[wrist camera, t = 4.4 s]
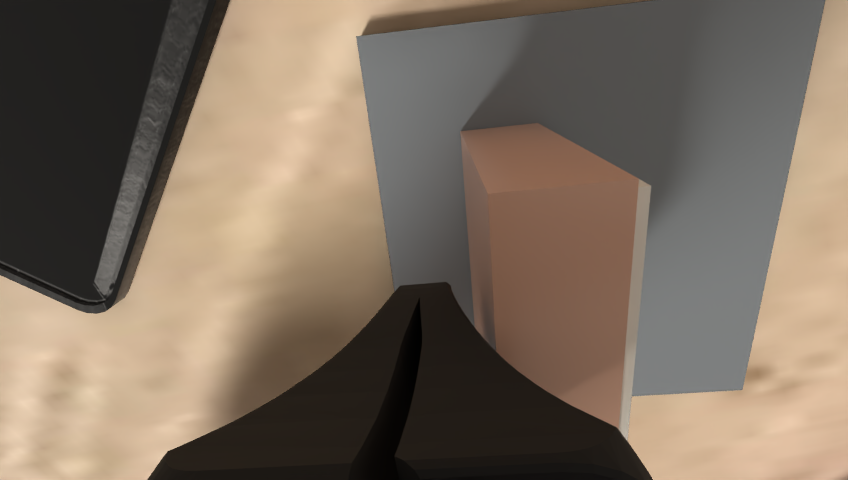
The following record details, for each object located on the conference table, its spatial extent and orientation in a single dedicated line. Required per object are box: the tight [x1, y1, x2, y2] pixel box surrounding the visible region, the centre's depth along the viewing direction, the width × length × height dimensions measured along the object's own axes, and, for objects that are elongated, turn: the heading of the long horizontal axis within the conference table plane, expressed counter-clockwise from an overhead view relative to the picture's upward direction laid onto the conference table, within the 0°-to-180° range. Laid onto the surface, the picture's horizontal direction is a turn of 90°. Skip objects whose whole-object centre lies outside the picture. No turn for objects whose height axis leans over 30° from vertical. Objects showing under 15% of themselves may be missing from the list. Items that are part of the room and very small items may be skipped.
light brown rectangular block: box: [460, 123, 651, 441], centre depth 12 cm, size 8×3×7 cm, turn 6°
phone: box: [0, 0, 230, 314], centre depth 14 cm, size 8×1×15 cm
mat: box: [356, 0, 825, 396], centre depth 15 cm, size 14×13×1 cm
